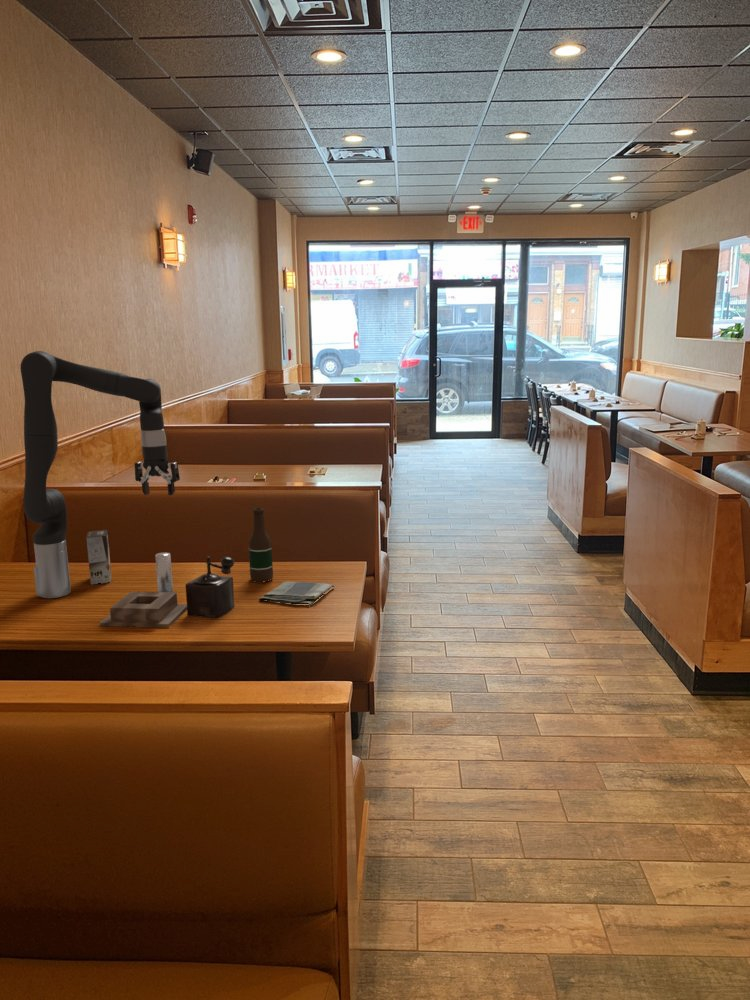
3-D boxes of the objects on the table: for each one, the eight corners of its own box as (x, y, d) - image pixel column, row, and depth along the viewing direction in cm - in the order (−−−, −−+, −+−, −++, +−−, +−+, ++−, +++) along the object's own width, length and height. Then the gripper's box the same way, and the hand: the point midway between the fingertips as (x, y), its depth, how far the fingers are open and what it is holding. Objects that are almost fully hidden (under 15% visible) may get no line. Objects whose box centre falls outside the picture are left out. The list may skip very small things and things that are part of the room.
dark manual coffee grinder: (184, 616, 218) (180, 555, 214) (204, 603, 228) (200, 545, 225) (233, 621, 213) (229, 559, 210) (251, 608, 224) (248, 549, 220)
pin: (156, 600, 232) (153, 556, 229) (162, 595, 236) (158, 552, 233) (170, 600, 231) (167, 556, 228) (175, 596, 236) (172, 552, 233)
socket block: (99, 625, 211) (97, 608, 210) (124, 606, 227) (122, 590, 226) (168, 627, 209) (167, 610, 208) (188, 607, 225) (187, 591, 224)
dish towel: (284, 585, 246) (284, 575, 245) (335, 590, 240) (335, 580, 239) (257, 603, 229) (256, 593, 228) (311, 609, 223) (311, 599, 222)
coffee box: (111, 582, 250) (106, 535, 247) (90, 585, 248) (85, 537, 245) (111, 575, 259) (107, 529, 255) (91, 577, 257) (87, 531, 253)
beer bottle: (245, 579, 251) (241, 508, 246) (266, 574, 256) (263, 505, 251) (256, 584, 245) (253, 512, 240) (277, 580, 250) (274, 508, 245)
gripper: (127, 445, 235) (132, 496, 238) (168, 445, 231) (173, 497, 235) (140, 442, 242) (145, 491, 245) (180, 442, 238) (185, 492, 242)
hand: (159, 494), depth 240 cm, fingers open, 8 cm apart
